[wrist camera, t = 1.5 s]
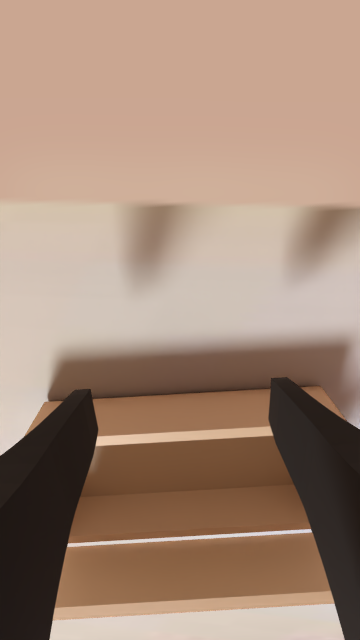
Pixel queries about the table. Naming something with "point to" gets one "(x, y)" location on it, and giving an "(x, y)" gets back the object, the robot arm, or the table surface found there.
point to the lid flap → (191, 576)
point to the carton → (186, 468)
